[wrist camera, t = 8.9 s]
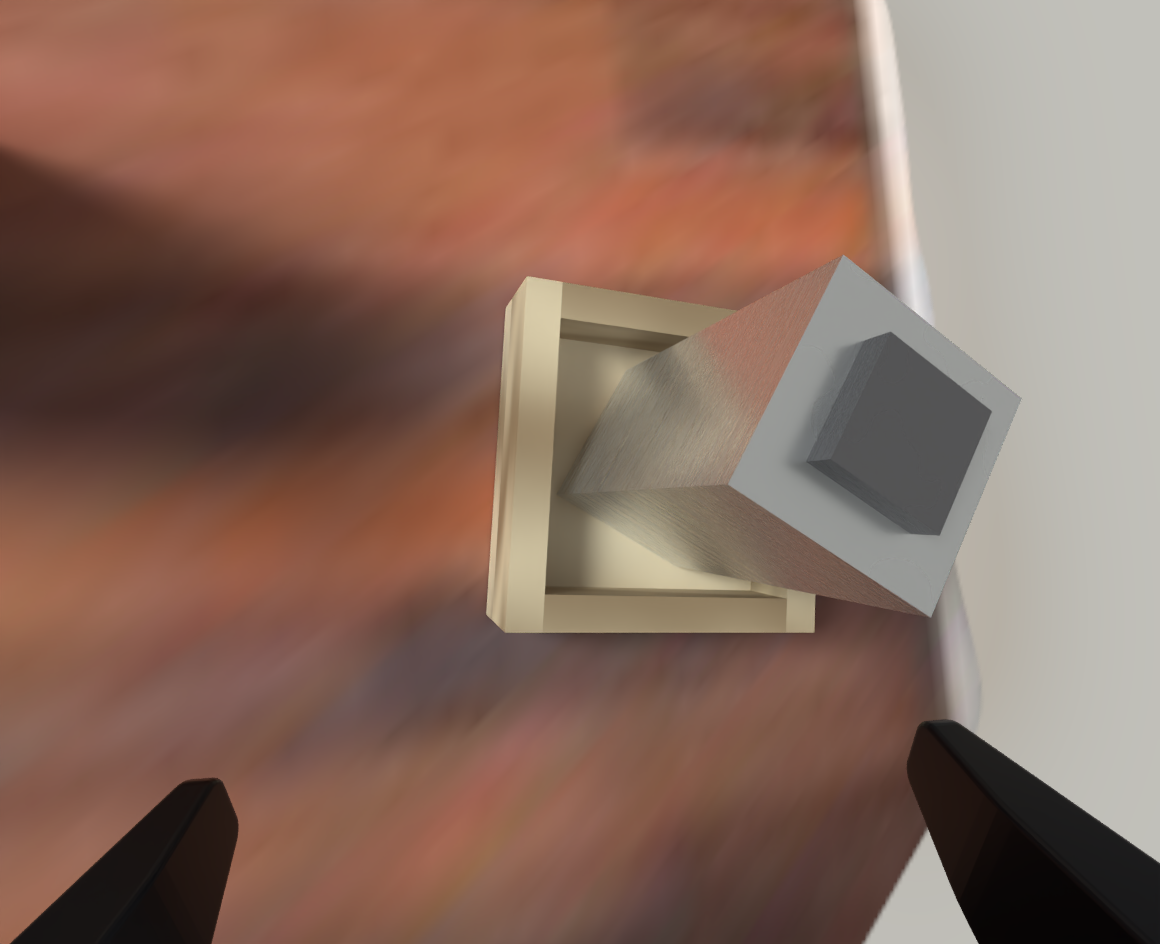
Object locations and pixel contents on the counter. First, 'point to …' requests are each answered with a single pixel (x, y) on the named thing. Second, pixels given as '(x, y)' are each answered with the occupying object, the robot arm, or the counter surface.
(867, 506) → the socket block
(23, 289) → the counter surface
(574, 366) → the cream square holder
